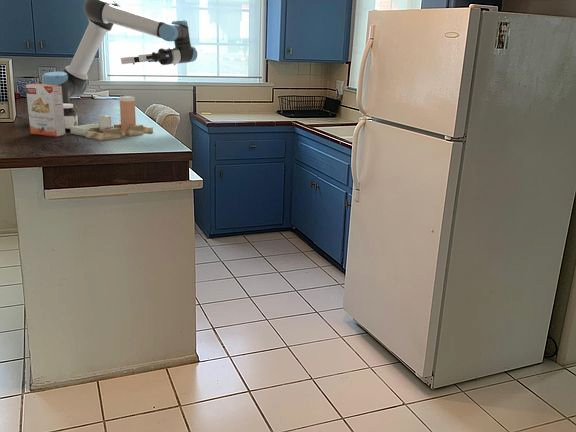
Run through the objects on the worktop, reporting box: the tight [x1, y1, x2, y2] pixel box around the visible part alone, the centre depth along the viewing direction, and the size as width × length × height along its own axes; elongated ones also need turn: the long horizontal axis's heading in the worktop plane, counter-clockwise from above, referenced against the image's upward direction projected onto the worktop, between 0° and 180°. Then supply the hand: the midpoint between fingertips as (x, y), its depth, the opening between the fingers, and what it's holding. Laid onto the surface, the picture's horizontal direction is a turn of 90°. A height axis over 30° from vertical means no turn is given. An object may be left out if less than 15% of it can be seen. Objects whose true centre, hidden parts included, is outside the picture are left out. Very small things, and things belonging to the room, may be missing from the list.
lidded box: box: [119, 95, 137, 136], centre depth 249 cm, size 5×5×16 cm
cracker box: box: [25, 83, 67, 138], centre depth 238 cm, size 14×6×21 cm, turn 70°
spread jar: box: [63, 103, 79, 133], centre depth 253 cm, size 12×11×12 cm
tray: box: [69, 123, 114, 137], centre depth 248 cm, size 12×14×3 cm
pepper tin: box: [97, 114, 112, 133], centre depth 239 cm, size 5×5×9 cm
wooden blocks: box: [85, 123, 154, 141], centre depth 247 cm, size 12×28×4 cm, turn 148°
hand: (130, 59), depth 250 cm, fingers open, 13 cm apart
